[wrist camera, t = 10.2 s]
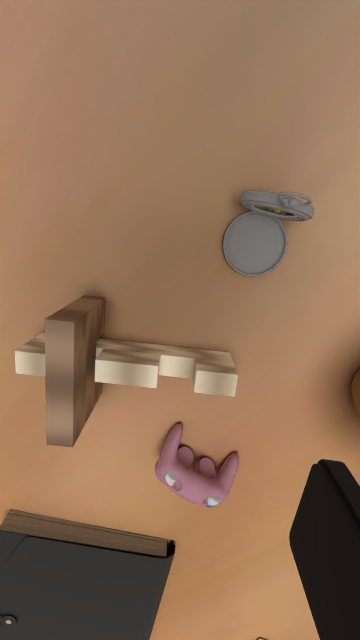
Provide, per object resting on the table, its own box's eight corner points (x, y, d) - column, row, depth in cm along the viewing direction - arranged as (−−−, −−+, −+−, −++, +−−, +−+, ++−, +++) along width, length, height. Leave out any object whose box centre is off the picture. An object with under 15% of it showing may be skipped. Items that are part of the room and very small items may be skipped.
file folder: (-8, 532, 39) (175, 563, 41) (9, 504, 43) (175, 534, 45) (-20, 690, 48) (130, 711, 50) (-5, 655, 52) (134, 676, 54)
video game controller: (162, 432, 41) (144, 485, 36) (177, 418, 38) (160, 474, 33) (224, 464, 42) (216, 520, 37) (243, 453, 39) (238, 512, 34)
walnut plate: (84, 295, 34) (44, 319, 25) (105, 297, 34) (74, 322, 25) (82, 390, 38) (46, 444, 28) (101, 392, 38) (72, 447, 28)
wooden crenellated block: (42, 351, 36) (15, 373, 31) (42, 332, 36) (14, 350, 30) (226, 370, 37) (234, 396, 31) (229, 352, 36) (238, 374, 30)
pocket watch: (232, 283, 34) (251, 302, 24) (209, 207, 32) (219, 195, 22) (305, 258, 33) (355, 268, 23) (286, 178, 31) (332, 152, 21)
